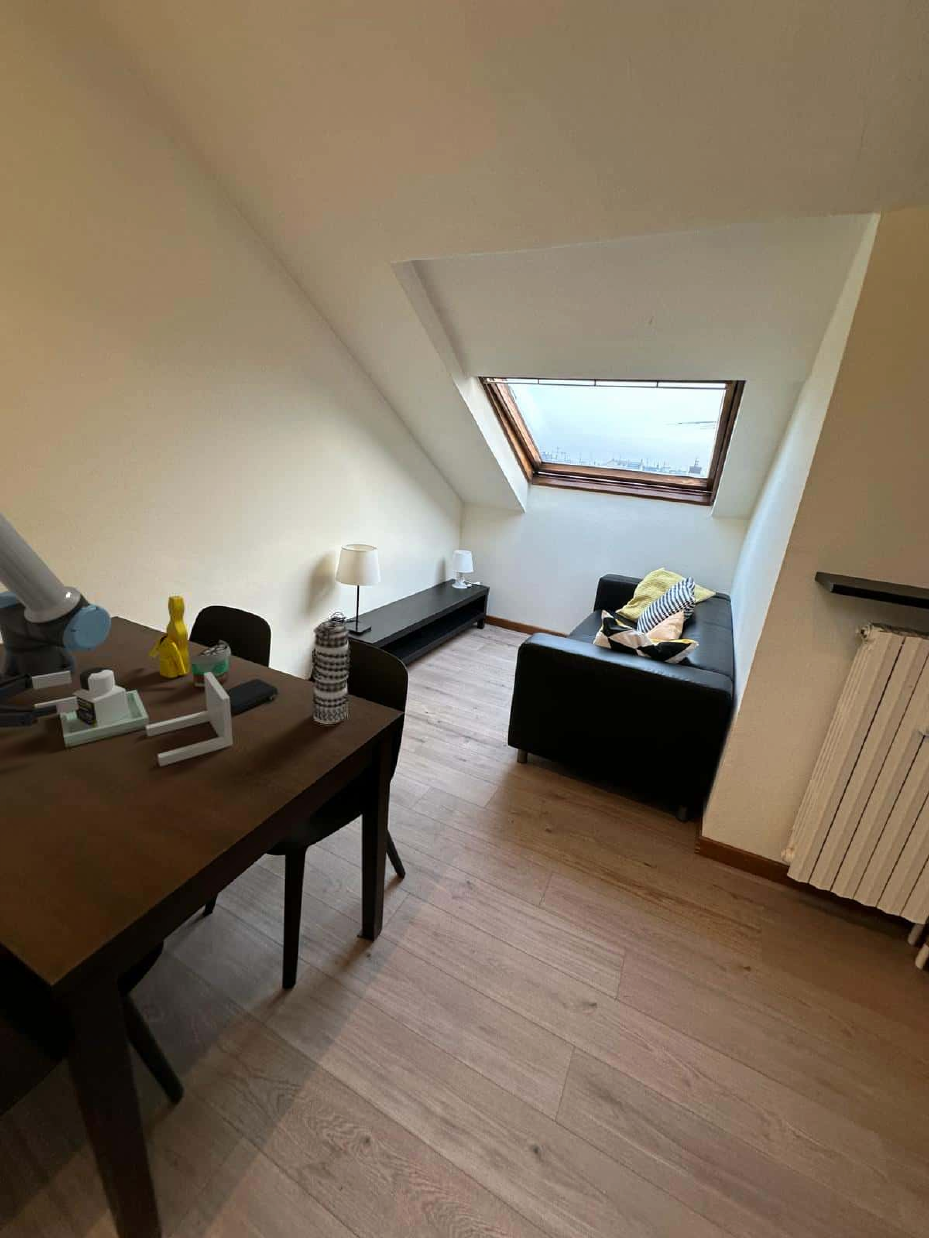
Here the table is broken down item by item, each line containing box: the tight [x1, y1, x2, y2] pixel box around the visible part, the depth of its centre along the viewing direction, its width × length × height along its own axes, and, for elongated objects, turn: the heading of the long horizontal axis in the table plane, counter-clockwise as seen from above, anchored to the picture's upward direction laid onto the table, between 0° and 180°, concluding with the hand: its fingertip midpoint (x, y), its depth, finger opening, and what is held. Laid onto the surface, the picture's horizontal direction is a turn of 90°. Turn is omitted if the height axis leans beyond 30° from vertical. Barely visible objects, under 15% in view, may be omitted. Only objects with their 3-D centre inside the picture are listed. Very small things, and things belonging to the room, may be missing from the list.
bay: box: [145, 672, 234, 767], centre depth 106 cm, size 14×14×12 cm
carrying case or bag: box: [224, 678, 279, 715], centre depth 126 cm, size 11×3×15 cm
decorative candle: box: [311, 620, 352, 724], centre depth 119 cm, size 9×9×25 cm
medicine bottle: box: [72, 666, 129, 728], centre depth 109 cm, size 7×7×12 cm
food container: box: [189, 639, 232, 690], centre depth 131 cm, size 12×6×10 cm, turn 168°
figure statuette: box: [148, 595, 191, 679], centre depth 132 cm, size 18×8×22 cm, turn 58°
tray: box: [59, 689, 150, 748], centre depth 111 cm, size 15×15×2 cm
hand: (74, 689), depth 105 cm, fingers open, 13 cm apart
